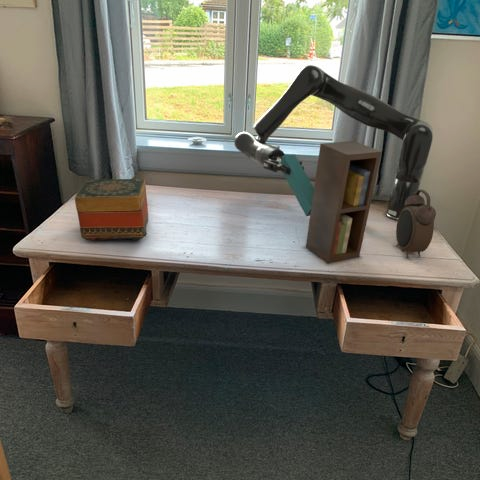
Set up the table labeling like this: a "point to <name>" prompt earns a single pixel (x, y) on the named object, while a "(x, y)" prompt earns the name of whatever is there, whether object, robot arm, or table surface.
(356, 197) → the bookcase
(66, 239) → the table surface
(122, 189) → the decorative box
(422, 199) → the alarm clock
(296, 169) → the pencil box
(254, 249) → the table surface
